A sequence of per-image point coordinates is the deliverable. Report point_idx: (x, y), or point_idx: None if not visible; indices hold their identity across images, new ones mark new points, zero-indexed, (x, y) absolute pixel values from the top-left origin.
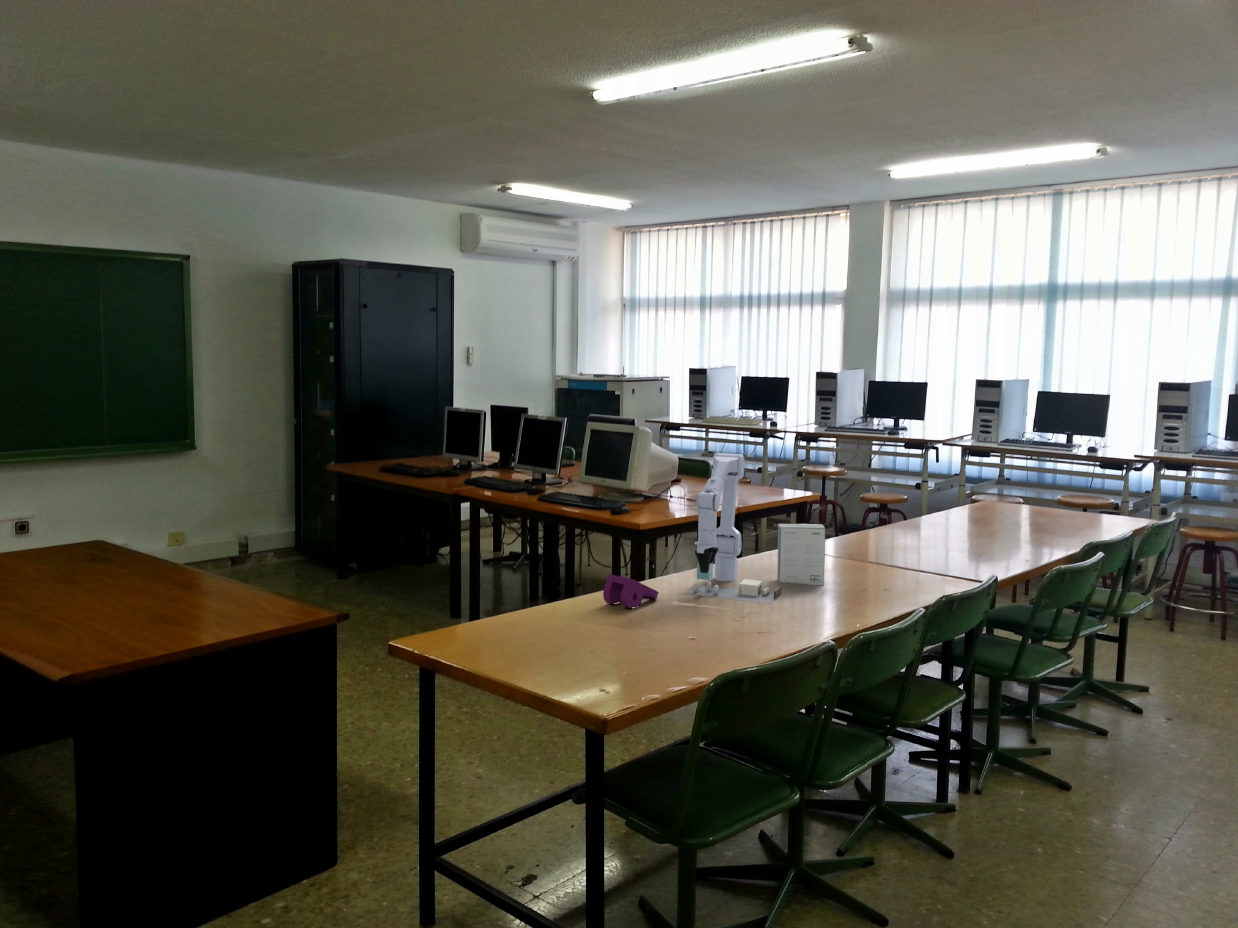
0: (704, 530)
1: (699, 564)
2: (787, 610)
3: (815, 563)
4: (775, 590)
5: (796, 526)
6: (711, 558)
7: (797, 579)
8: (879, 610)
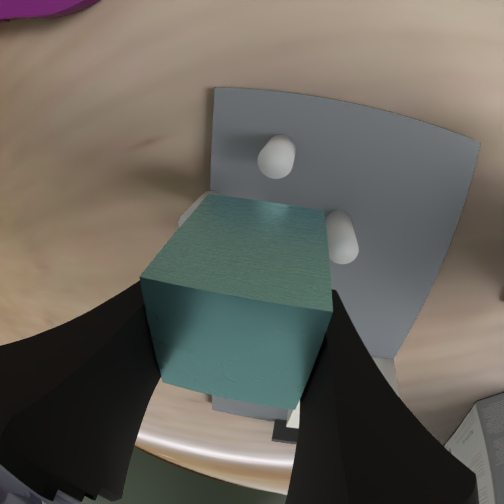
0: None
1: (109, 302)
2: (193, 419)
3: None
4: (283, 440)
5: None
6: (300, 436)
7: (461, 437)
8: (267, 483)
